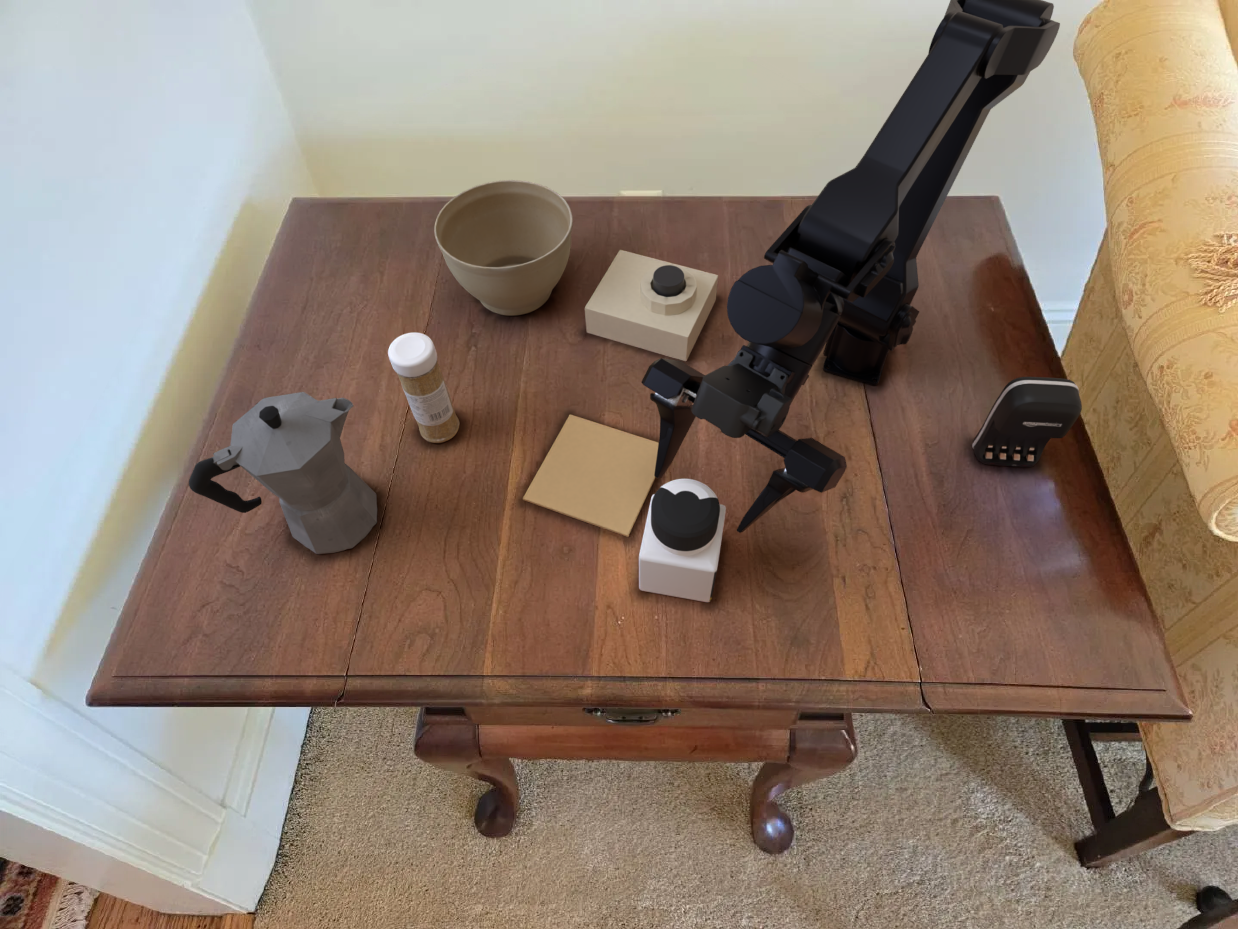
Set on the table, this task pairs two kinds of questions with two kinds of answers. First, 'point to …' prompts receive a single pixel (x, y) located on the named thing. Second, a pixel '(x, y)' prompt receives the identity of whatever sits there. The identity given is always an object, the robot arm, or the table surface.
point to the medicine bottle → (682, 541)
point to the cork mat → (596, 475)
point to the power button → (668, 281)
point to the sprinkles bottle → (424, 386)
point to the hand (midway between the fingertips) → (697, 503)
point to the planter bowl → (506, 243)
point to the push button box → (650, 306)
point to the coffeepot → (296, 470)
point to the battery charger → (1027, 420)
